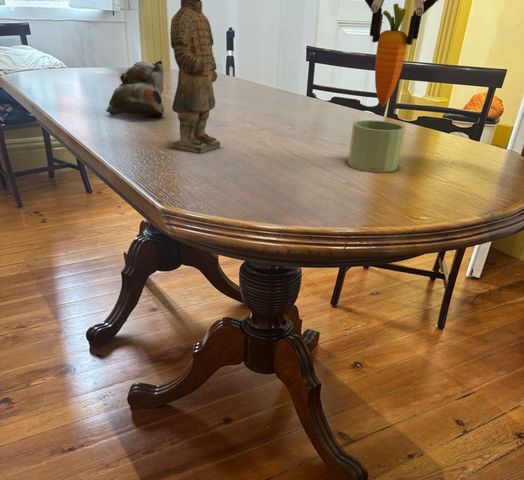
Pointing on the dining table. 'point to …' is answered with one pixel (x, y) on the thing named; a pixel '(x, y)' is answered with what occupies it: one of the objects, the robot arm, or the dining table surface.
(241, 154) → the dining table surface
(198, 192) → the dining table surface
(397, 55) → the carrot
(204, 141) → the statue
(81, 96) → the dining table surface
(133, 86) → the dark stacked lumps
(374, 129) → the holder
